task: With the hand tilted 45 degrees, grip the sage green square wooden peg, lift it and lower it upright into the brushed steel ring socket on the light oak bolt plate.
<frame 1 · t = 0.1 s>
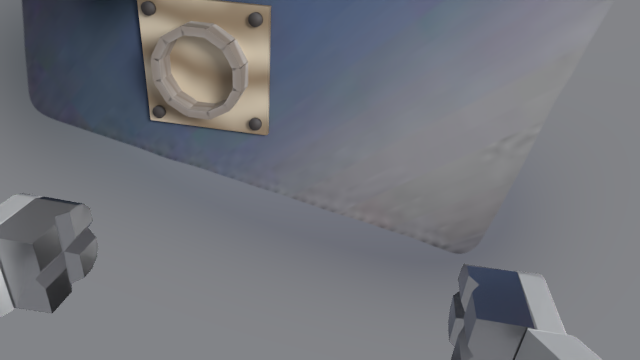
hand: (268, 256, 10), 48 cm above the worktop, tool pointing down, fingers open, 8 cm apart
bolt socket plate: (207, 66, 59), on the worktop
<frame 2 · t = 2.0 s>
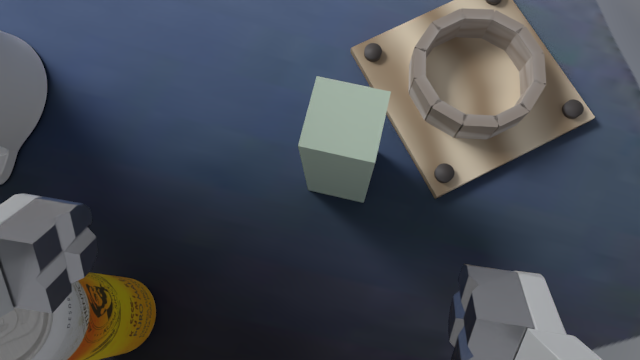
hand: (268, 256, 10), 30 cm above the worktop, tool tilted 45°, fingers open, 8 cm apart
bolt socket plate: (467, 85, 44), on the worktop
green peg: (342, 169, 42), on the worktop
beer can: (124, 315, 40), on the worktop
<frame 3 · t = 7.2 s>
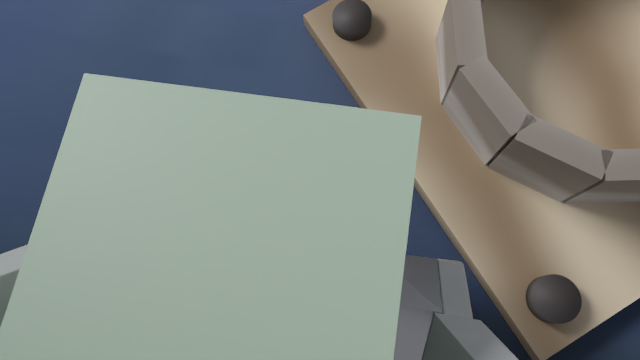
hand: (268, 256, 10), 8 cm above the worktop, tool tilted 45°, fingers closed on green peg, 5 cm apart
bolt socket plate: (569, 76, 19), on the worktop
green peg: (300, 298, 18), on the worktop, touching gripper
when the fingers open (10 cm above the worktop, at t = 15.3 s): green peg drops 1 cm, resting on bolt socket plate.
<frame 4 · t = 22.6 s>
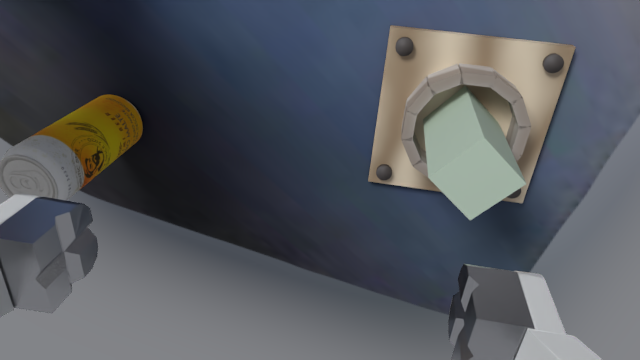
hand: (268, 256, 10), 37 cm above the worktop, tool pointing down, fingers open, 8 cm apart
bolt socket plate: (460, 118, 46), on the worktop
green peg: (460, 121, 46), point 1 cm above the worktop, touching bolt socket plate
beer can: (121, 117, 52), on the worktop
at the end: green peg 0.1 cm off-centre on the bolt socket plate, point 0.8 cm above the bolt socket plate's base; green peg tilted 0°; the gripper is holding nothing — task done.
